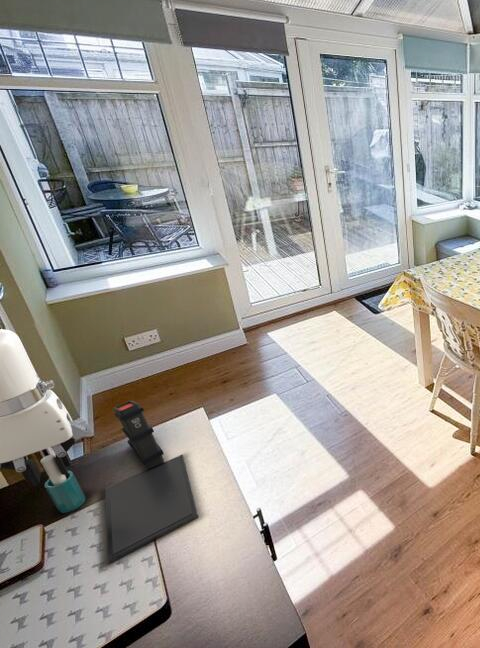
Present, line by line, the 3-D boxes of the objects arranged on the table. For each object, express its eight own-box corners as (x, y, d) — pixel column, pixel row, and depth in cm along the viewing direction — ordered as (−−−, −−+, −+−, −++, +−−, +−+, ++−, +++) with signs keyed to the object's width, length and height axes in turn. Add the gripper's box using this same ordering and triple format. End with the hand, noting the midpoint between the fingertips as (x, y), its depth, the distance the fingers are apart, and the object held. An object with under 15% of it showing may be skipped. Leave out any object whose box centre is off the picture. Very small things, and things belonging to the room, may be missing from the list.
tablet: (109, 563, 73) (107, 560, 72) (106, 491, 85) (104, 487, 85) (198, 517, 81) (197, 513, 80) (183, 457, 93) (182, 454, 93)
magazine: (148, 475, 87) (117, 412, 85) (139, 465, 95) (110, 408, 93) (170, 463, 90) (140, 402, 88) (158, 455, 98) (131, 399, 96)
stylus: (65, 508, 81) (39, 464, 76) (65, 501, 82) (40, 458, 77) (78, 502, 82) (53, 459, 77) (78, 496, 83) (54, 453, 78)
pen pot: (58, 516, 80) (43, 491, 77) (59, 503, 82) (45, 478, 80) (85, 504, 82) (72, 480, 79) (85, 492, 85) (72, 467, 82)
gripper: (78, 369, 79) (109, 442, 86) (-59, 407, 69) (-12, 486, 76) (77, 389, 74) (110, 464, 81) (-71, 433, 64) (-19, 515, 71)
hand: (51, 474), depth 78 cm, fingers open, 3 cm apart
